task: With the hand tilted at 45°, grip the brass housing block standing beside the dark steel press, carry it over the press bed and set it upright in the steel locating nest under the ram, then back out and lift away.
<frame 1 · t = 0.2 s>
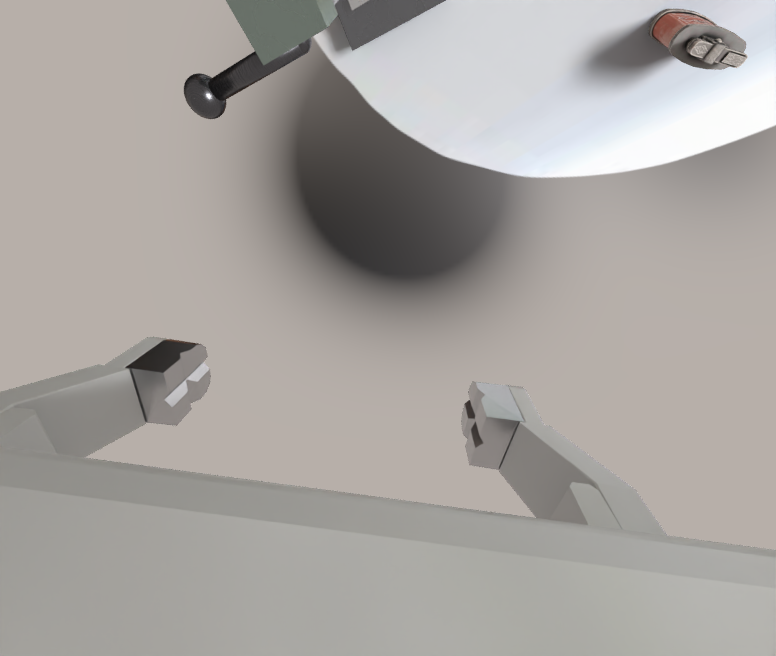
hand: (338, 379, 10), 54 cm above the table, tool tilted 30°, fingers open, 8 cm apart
lighter: (680, 29, 40), on the table
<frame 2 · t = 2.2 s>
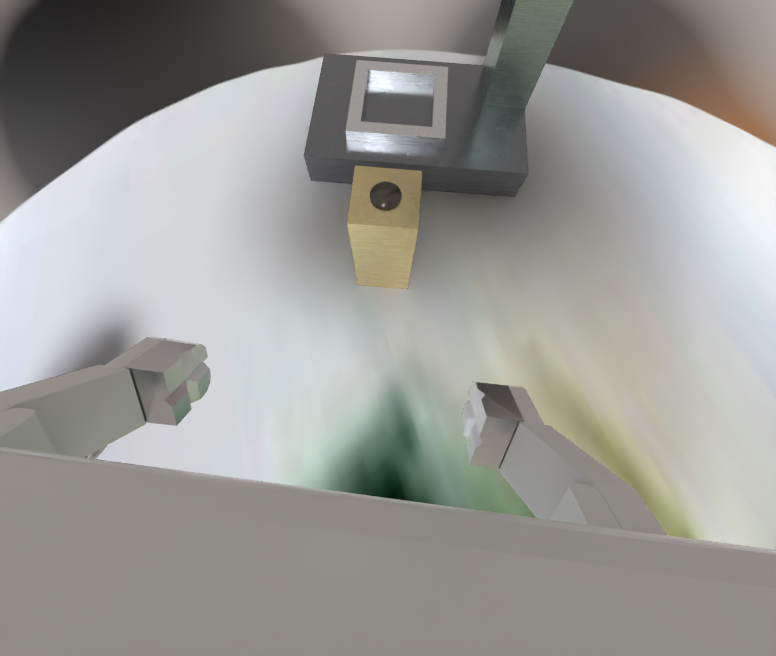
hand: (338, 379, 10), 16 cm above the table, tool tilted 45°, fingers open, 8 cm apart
housing: (384, 264, 29), on the table
press: (416, 136, 33), on the table
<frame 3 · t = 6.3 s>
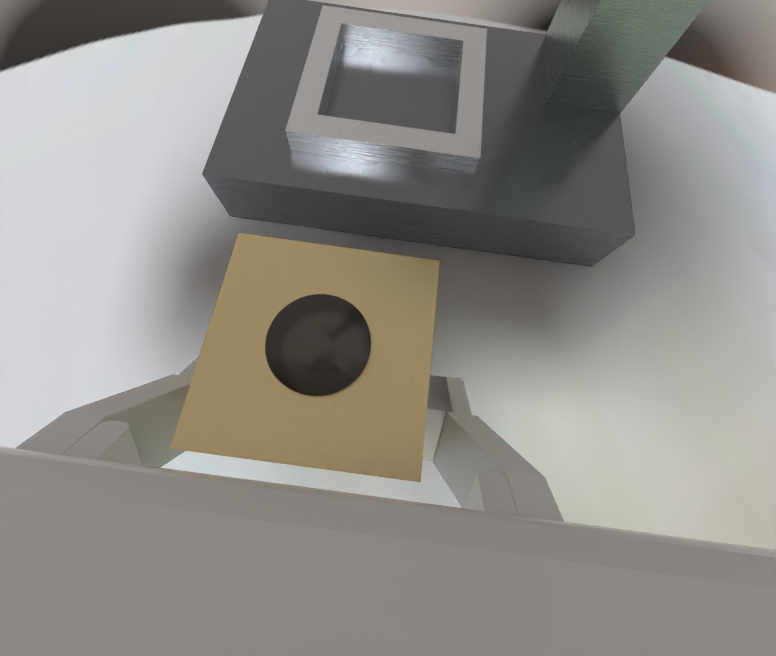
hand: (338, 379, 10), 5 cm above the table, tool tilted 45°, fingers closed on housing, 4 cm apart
housing: (350, 392, 15), on the table, touching gripper
press: (422, 149, 19), on the table
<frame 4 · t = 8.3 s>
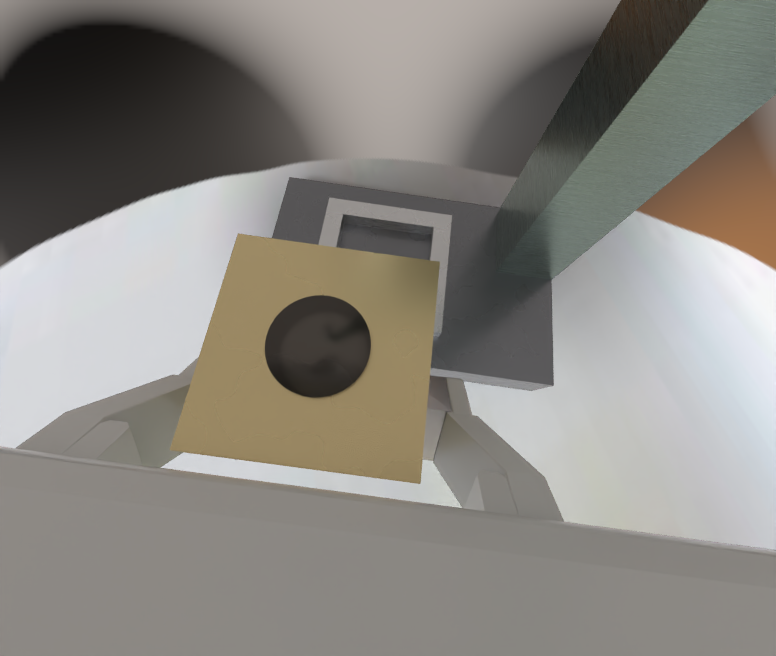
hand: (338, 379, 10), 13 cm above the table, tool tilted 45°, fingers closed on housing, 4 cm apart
housing: (350, 393, 15), point 8 cm above the table, touching gripper
press: (405, 289, 25), on the table
when the fingers open (10 cm above the table, at t = 10.2 s): housing drops 1 cm, resting on press.
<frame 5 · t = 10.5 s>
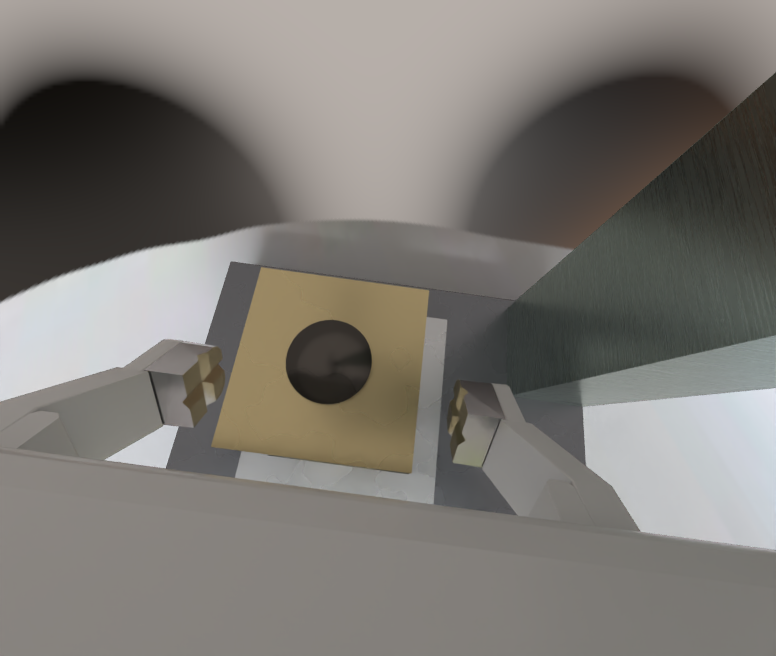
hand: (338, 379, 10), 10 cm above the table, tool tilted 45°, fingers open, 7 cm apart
housing: (352, 396, 16), point 3 cm above the table, touching press
press: (387, 404, 19), on the table
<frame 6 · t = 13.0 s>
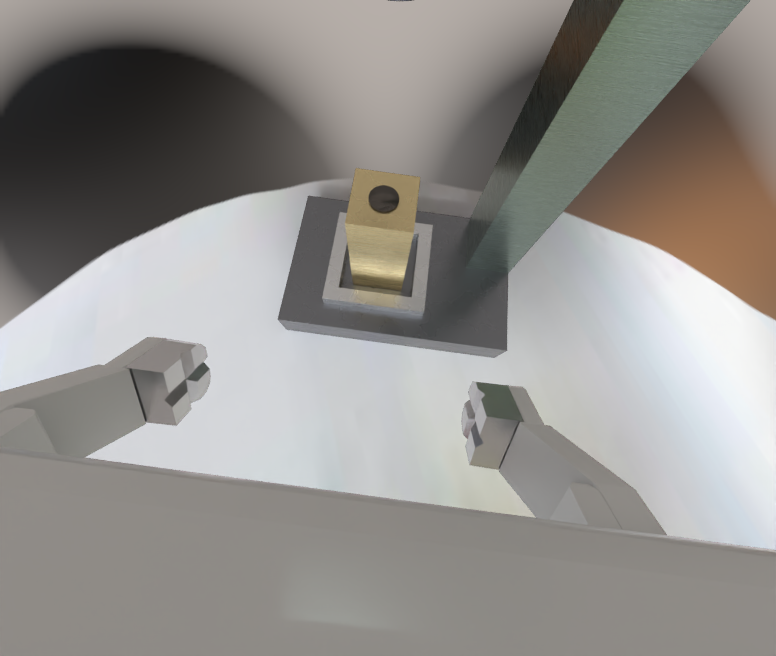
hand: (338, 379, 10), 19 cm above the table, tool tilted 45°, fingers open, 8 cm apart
housing: (380, 266, 29), point 3 cm above the table, touching press
press: (398, 282, 32), on the table
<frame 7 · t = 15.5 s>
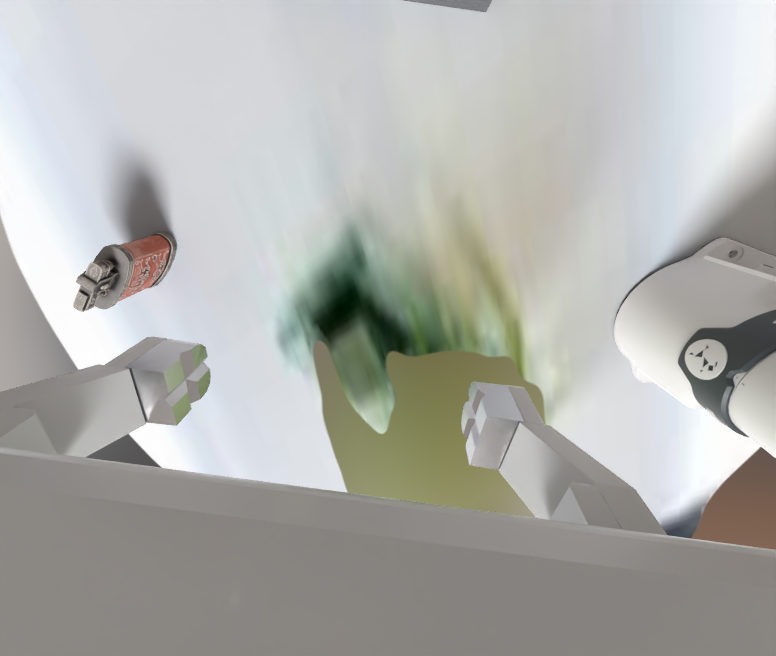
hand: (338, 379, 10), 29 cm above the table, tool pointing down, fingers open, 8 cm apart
lighter: (158, 259, 39), on the table
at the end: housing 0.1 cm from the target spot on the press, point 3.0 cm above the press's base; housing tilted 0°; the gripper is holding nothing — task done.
